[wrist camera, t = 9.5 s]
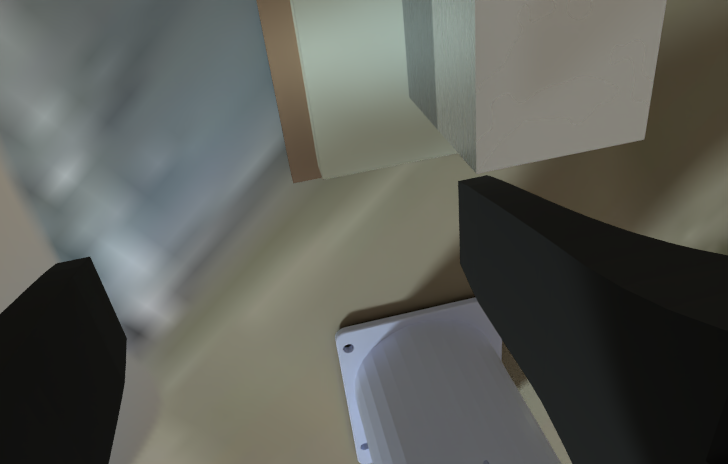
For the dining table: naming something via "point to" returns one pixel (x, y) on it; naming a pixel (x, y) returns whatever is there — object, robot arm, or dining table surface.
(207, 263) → the dining table surface
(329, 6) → the stand
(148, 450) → the dining table surface
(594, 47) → the housing
